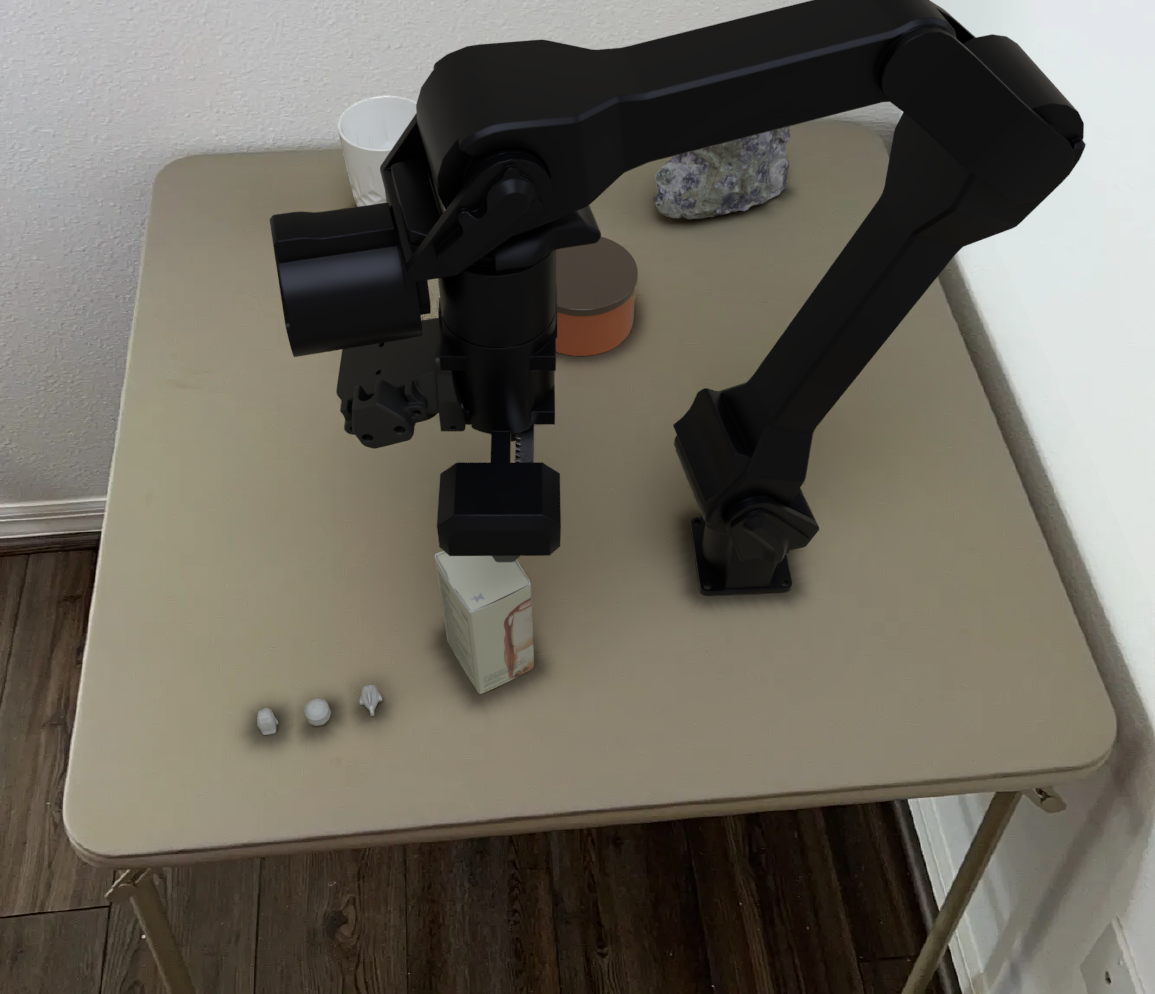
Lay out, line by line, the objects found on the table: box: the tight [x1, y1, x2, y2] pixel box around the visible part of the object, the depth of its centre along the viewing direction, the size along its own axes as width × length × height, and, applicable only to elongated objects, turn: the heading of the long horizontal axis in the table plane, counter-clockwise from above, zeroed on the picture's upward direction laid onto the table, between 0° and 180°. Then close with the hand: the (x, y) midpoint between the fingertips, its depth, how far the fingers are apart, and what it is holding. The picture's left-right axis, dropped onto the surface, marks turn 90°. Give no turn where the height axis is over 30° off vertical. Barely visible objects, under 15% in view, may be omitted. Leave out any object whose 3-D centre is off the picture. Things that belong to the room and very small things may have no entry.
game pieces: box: [256, 684, 383, 736], centre depth 73 cm, size 8×2×2 cm, turn 102°
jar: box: [556, 236, 639, 357], centre depth 94 cm, size 9×9×5 cm
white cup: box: [336, 94, 417, 207], centre depth 100 cm, size 8×8×10 cm
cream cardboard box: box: [434, 550, 535, 695], centre depth 72 cm, size 5×4×10 cm
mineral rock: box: [654, 126, 791, 220], centre depth 102 cm, size 13×11×10 cm
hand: (506, 497), depth 69 cm, fingers open, 9 cm apart
